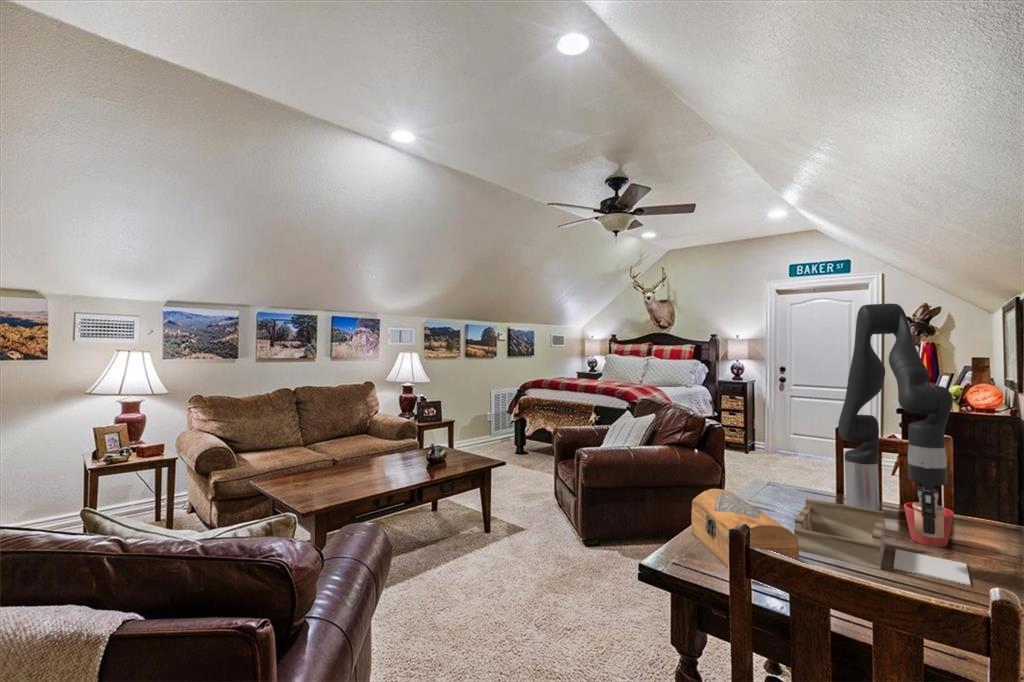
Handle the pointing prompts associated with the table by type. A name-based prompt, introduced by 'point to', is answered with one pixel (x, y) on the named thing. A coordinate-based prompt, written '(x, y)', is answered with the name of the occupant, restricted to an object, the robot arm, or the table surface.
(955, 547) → the table surface
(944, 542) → the flower pot
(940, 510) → the seedling pot
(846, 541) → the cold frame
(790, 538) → the wooden box
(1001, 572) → the table surface
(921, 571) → the grey mat
